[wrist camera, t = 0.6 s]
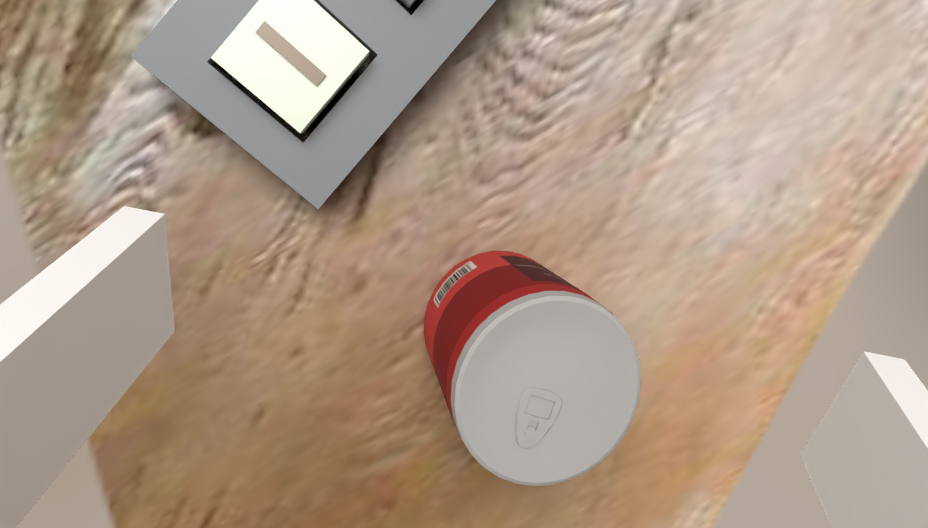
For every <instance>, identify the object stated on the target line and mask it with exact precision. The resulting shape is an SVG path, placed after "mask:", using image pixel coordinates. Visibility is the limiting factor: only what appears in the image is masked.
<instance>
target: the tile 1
mask: <svg viewBox="0 0 928 528" xmlns="http://www.w3.org/2000/svg"><path fill="white" fill-rule="evenodd" d="M368 55H369V50H368V49H367V48H365V47H364V46H363V45H362V44H361V43H360V42H359V41H358V40H357V39H356V38H355V37H353V36H352V35H351V34H350V33H349V32H348V31H347V30H346V29H345V28H344V27H343V26H341V25H340V24H339V23H338V22H337V21H336V20H335V19H334V18H333V17H332V16H330V15H329V14H328V13H327V12H326V11H325V10H324V9H323V8H322V7H321V6H320V5H318V4H317V3H316V2H315V1H314V0H259V1H258V2H257V3H256V4H255V5H254V7H253V8H252V9H251V10H250V11H249V13H248V14H247V15H246V16H245V17H244V19H243V20H242V21H241V22H240V23H239V24H238V26H237V27H236V28H235V29H234V30H233V32H232V33H231V34H230V35H229V36H228V38H227V39H226V40H225V41H224V42H223V44H222V45H221V46H220V47H219V48H218V50H217V51H216V52H215V53H214V54H213V56H212V57H211V58H212V59H213V60H214V61H215V62H216V63H218V64H219V65H220V66H221V67H222V68H223V69H225V70H226V71H227V72H228V73H229V74H231V75H232V76H233V77H234V78H235V79H236V80H238V81H239V82H240V83H241V84H242V85H244V86H245V87H246V88H247V89H248V90H249V91H251V92H252V93H253V94H254V95H255V96H257V97H258V98H259V99H260V100H261V101H262V102H264V103H265V104H266V105H267V106H268V107H270V108H271V109H272V110H273V111H274V112H276V113H277V114H278V115H279V116H280V117H281V118H283V119H284V120H285V121H286V122H287V123H289V124H290V125H291V126H292V127H293V128H294V129H296V130H297V131H298V132H299V133H304V132H305V131H306V130H307V129H308V127H309V126H310V125H311V124H312V123H313V121H314V120H315V119H316V118H317V117H318V116H319V114H320V113H321V112H322V111H323V110H324V108H325V107H326V106H327V105H328V104H329V103H330V101H331V100H332V99H333V98H334V97H335V95H336V94H337V93H338V92H339V91H340V90H341V88H342V87H343V86H344V85H345V84H346V82H347V81H348V80H349V79H350V78H351V77H352V75H353V74H354V73H355V72H356V71H357V69H358V68H359V67H360V66H361V65H362V64H363V62H364V61H365V60H366V59H367V58H368Z"/></svg>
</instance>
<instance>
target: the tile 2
mask: <svg viewBox="0 0 928 528" xmlns="http://www.w3.org/2000/svg"><path fill="white" fill-rule="evenodd" d="M400 1H401V2H402V3H403V4H404V5H405V6H407V7H408V8H410V7H411V6H412V5H413V3H414V2H415V1H416V0H400Z"/></svg>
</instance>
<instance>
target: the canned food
mask: <svg viewBox="0 0 928 528" xmlns="http://www.w3.org/2000/svg"><path fill="white" fill-rule="evenodd" d="M424 335H425V343H426V347H427V350H428V352H429V355H430V358H431V361H432V364H433V366H434V369H435V372H436V375H437V378H438V380H439V383H440V386H441V389H442V391H443V394H444V397H445V400H446V402H447V405H448V408H449V411H450V414H451V416H452V419H453V422H454V424H455V426H456V428H457V431H458V434H459V436H460V437H461V439H462V441H463V442H464V444H465V446H466V447H467V449H468V450H469V451H470V453H471V455H472V456H473V457H474V458H475V459H476V460H477V461H478V462H479V463H480V464H481V465H482V466H483V467H484V468H485V469H487V470H488V471H490V472H491V473H493V474H494V475H496V476H497V477H499V478H502V479H505V480H507V481H510V482H513V483H516V484H522V485H529V486H541V485H552V484H556V483H561V482H565V481H568V480H570V479H573V478H575V477H577V476H579V475H582V474H584V473H586V472H587V471H589V470H590V469H592V468H593V467H595V466H596V465H597V464H599V463H600V462H601V461H602V460H603V459H604V458H606V457H607V456H608V455H609V454H610V453H611V452H612V451H613V450H614V449H615V447H616V446H617V445H618V443H619V442H620V441H621V439H622V438H623V437H624V435H625V434H626V432H627V430H628V428H629V426H630V424H631V422H632V420H633V418H634V415H635V411H636V408H637V405H638V402H639V396H640V388H641V371H640V362H639V358H638V355H637V351H636V347H635V345H634V343H633V341H632V339H631V337H630V335H629V333H628V332H627V330H626V329H625V328H624V327H623V325H622V324H621V323H620V322H619V321H618V319H617V318H616V317H615V316H614V315H613V314H612V313H611V312H610V311H609V310H607V309H606V308H605V307H603V306H602V305H601V304H600V303H598V302H597V301H595V300H594V299H593V298H591V297H590V296H589V295H587V294H586V293H584V292H582V291H581V290H579V289H578V288H576V287H575V286H573V285H571V284H570V283H568V282H567V281H565V280H564V279H562V278H560V277H559V276H557V275H556V274H554V273H553V272H551V271H549V270H548V269H546V268H545V267H543V266H542V265H540V264H538V263H537V262H535V261H534V260H532V259H530V258H528V257H526V256H523V255H521V254H518V253H513V252H509V251H491V252H486V253H480V254H478V255H475V256H473V257H470V258H468V259H466V260H464V261H463V262H461V263H459V264H458V265H456V266H455V267H454V268H452V269H451V270H450V271H449V272H448V273H447V274H446V275H445V276H444V277H443V278H442V280H441V281H440V283H439V284H438V285H437V287H436V288H435V290H434V292H433V294H432V296H431V298H430V300H429V302H428V306H427V310H426V314H425V322H424Z"/></svg>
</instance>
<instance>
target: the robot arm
mask: <svg viewBox="0 0 928 528" xmlns="http://www.w3.org/2000/svg"><path fill="white" fill-rule="evenodd" d="M174 331H175V330H174V318H173V306H172V294H171V282H170V270H169V258H168V246H167V234H166V222H165V214H162V213H157V212H152V211H147V210H141V209H136V208H131V207H126V206H124V207H123V208H121V209H120V210H119V211H118V212H116V213H115V214H114V215H113V216H111V217H110V218H109V219H108V220H106V221H105V222H104V223H103V224H101V225H100V226H99V227H98V228H96V229H95V230H94V231H92V232H91V233H90V234H89V235H87V236H86V237H85V238H84V239H82V240H81V241H80V242H79V243H77V244H76V245H75V246H74V247H72V248H71V249H70V250H69V251H67V252H66V253H65V254H63V255H62V256H61V257H60V258H58V259H57V260H56V261H55V262H53V263H52V264H51V265H50V266H48V267H47V268H46V269H45V270H43V271H42V272H41V273H40V274H38V275H37V276H36V277H34V278H33V279H32V280H31V281H29V282H28V283H27V284H26V285H25V286H23V287H22V288H21V289H19V290H18V291H17V292H16V293H14V294H13V295H12V296H11V297H9V298H8V299H7V300H5V302H3V303H2V304H1V305H0V528H16V527H17V526H18V524H19V523H20V522H21V521H22V519H23V518H24V517H25V516H26V514H27V513H28V512H29V511H30V510H31V508H32V507H33V506H34V505H35V503H36V502H37V501H38V500H39V498H40V497H41V496H42V495H43V494H44V492H45V491H46V490H47V489H48V487H49V486H50V485H51V483H52V482H53V481H54V480H55V479H56V477H57V476H58V475H59V474H60V472H61V471H62V470H63V469H64V467H65V466H66V465H67V463H69V461H70V460H71V459H72V458H73V456H74V455H75V454H76V452H77V451H78V450H79V449H80V448H81V446H82V445H83V444H84V443H85V442H86V440H87V439H88V438H89V437H90V435H91V434H92V433H93V432H94V430H95V429H96V428H97V427H98V425H99V424H100V423H101V422H102V421H103V419H104V418H105V417H106V416H107V414H108V413H109V412H110V411H111V409H112V408H113V407H114V406H115V404H116V403H117V402H118V401H119V399H120V398H121V397H122V396H123V395H124V393H125V392H126V391H127V390H128V388H129V387H130V386H131V385H132V383H133V382H134V381H135V380H136V378H137V377H138V376H139V375H140V374H141V372H142V371H143V370H144V369H145V367H146V366H147V365H148V364H149V362H150V361H151V360H152V359H153V357H154V356H155V355H156V354H157V352H158V351H159V350H160V349H161V348H162V346H163V345H164V344H165V343H166V341H167V340H168V339H169V338H170V336H171V335H172V334H173V333H174ZM800 457H801V459H802V461H803V464H804V466H805V468H806V470H807V473H808V475H809V477H810V480H811V482H812V484H813V487H814V489H815V491H816V493H817V495H818V498H819V500H820V503H821V505H822V507H823V510H824V512H825V514H826V516H827V519H828V521H829V523H830V525H831V527H832V528H928V391H927V390H926V388H925V387H924V385H923V384H922V383H921V381H920V380H919V379H918V377H917V376H916V374H915V373H914V372H913V370H912V369H911V368H910V366H909V365H908V364H907V362H906V361H905V360H904V359H899V358H894V357H889V356H883V355H879V354H874V353H869V352H863V353H862V355H861V356H860V358H859V360H858V361H857V363H856V364H855V366H854V368H853V369H852V371H851V373H850V374H849V376H848V377H847V379H846V381H845V382H844V384H843V386H842V387H841V389H840V390H839V392H838V394H837V395H836V397H835V399H834V400H833V402H832V403H831V405H830V407H829V409H828V410H827V412H826V413H825V415H824V416H823V418H822V420H821V422H820V423H819V425H818V426H817V428H816V430H815V431H814V433H813V434H812V436H811V438H810V439H809V441H808V442H807V444H806V446H805V447H804V449H803V451H802V452H801V454H800Z"/></svg>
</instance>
